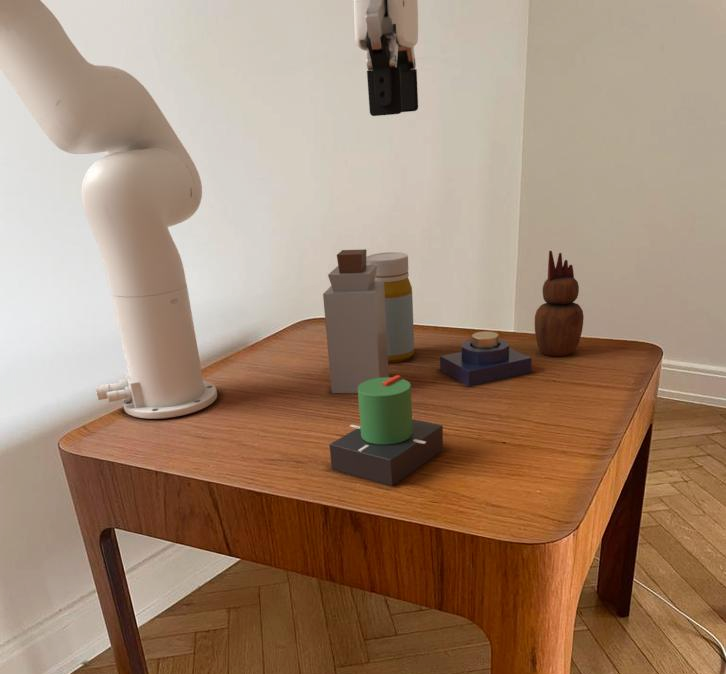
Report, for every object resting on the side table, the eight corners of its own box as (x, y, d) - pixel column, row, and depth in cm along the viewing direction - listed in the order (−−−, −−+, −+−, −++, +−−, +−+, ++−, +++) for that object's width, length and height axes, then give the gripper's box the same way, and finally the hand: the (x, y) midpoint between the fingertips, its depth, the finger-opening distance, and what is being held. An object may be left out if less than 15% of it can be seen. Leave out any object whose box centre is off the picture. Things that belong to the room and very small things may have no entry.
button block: (468, 386, 101) (468, 358, 99) (440, 370, 107) (439, 343, 105) (531, 373, 104) (532, 345, 102) (499, 358, 110) (500, 331, 109)
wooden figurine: (535, 360, 108) (539, 254, 102) (532, 348, 114) (536, 246, 107) (583, 359, 108) (590, 252, 101) (577, 347, 113) (584, 244, 106)
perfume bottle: (380, 393, 100) (372, 256, 92) (331, 393, 102) (319, 258, 94) (388, 376, 106) (382, 246, 98) (342, 376, 108) (332, 247, 99)
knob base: (399, 488, 76) (398, 460, 74) (325, 467, 81) (322, 441, 80) (450, 451, 83) (449, 425, 81) (378, 434, 88) (377, 410, 87)
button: (480, 352, 102) (480, 340, 101) (467, 346, 105) (467, 334, 104) (503, 348, 103) (503, 335, 102) (489, 341, 106) (489, 329, 105)
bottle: (408, 364, 111) (404, 260, 104) (363, 363, 112) (356, 261, 106) (418, 350, 116) (415, 251, 110) (375, 349, 118) (369, 252, 112)
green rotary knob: (393, 448, 77) (390, 396, 74) (350, 438, 80) (346, 387, 78) (422, 429, 81) (421, 379, 78) (380, 420, 84) (377, 371, 81)
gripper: (366, -67, 79) (377, 113, 87) (321, -102, 64) (340, 119, 72) (436, -77, 77) (442, 108, 85) (407, -116, 62) (417, 112, 70)
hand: (395, 113), depth 78 cm, fingers open, 9 cm apart
